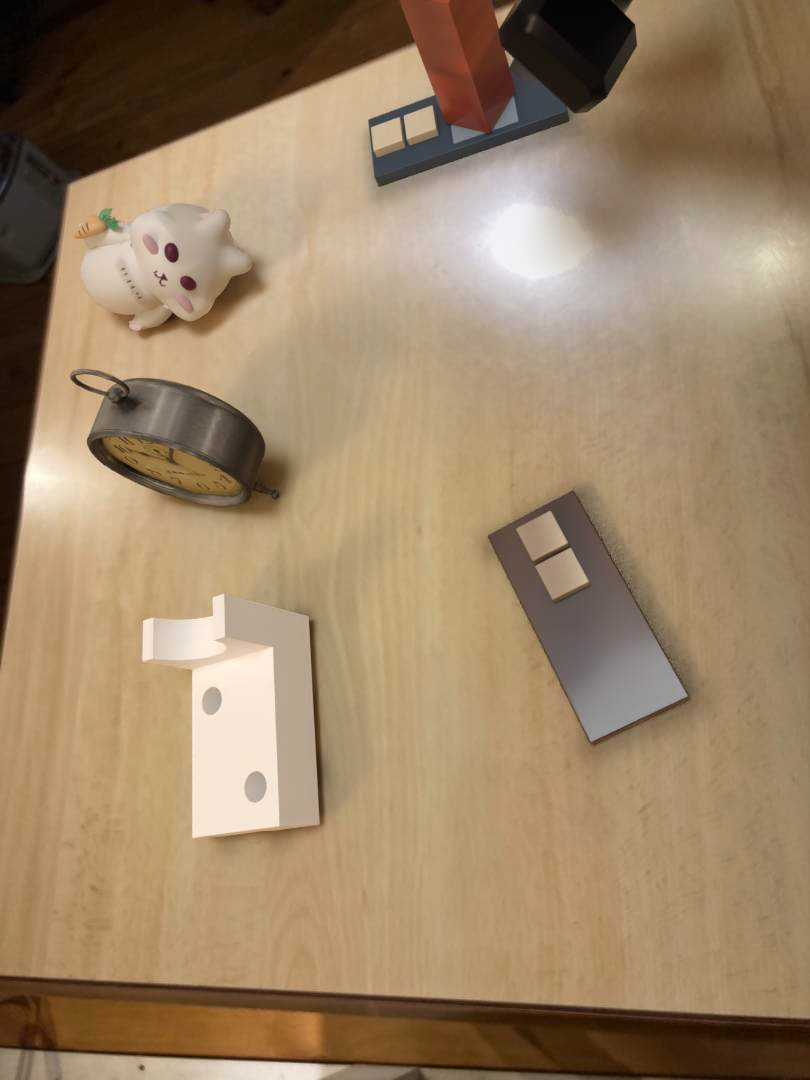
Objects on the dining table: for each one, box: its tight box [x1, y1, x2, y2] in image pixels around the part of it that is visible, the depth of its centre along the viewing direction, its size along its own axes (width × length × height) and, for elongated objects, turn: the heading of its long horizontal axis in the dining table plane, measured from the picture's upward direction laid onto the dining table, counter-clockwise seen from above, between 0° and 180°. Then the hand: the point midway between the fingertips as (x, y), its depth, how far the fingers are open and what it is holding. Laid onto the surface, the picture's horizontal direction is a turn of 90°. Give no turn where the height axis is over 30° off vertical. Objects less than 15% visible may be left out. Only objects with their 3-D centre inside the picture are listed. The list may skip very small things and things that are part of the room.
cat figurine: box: [73, 202, 253, 331], centre depth 65 cm, size 10×8×15 cm
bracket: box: [141, 593, 321, 839], centre depth 51 cm, size 13×7×8 cm, turn 6°
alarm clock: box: [69, 368, 281, 507], centre depth 54 cm, size 11×5×16 cm, turn 76°
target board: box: [367, 66, 570, 187], centre depth 64 cm, size 15×6×2 cm, turn 96°
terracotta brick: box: [398, 0, 515, 133], centre depth 58 cm, size 4×4×11 cm
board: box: [487, 490, 691, 746], centre depth 49 cm, size 6×14×2 cm, turn 23°
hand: (553, 11), depth 51 cm, fingers open, 9 cm apart
